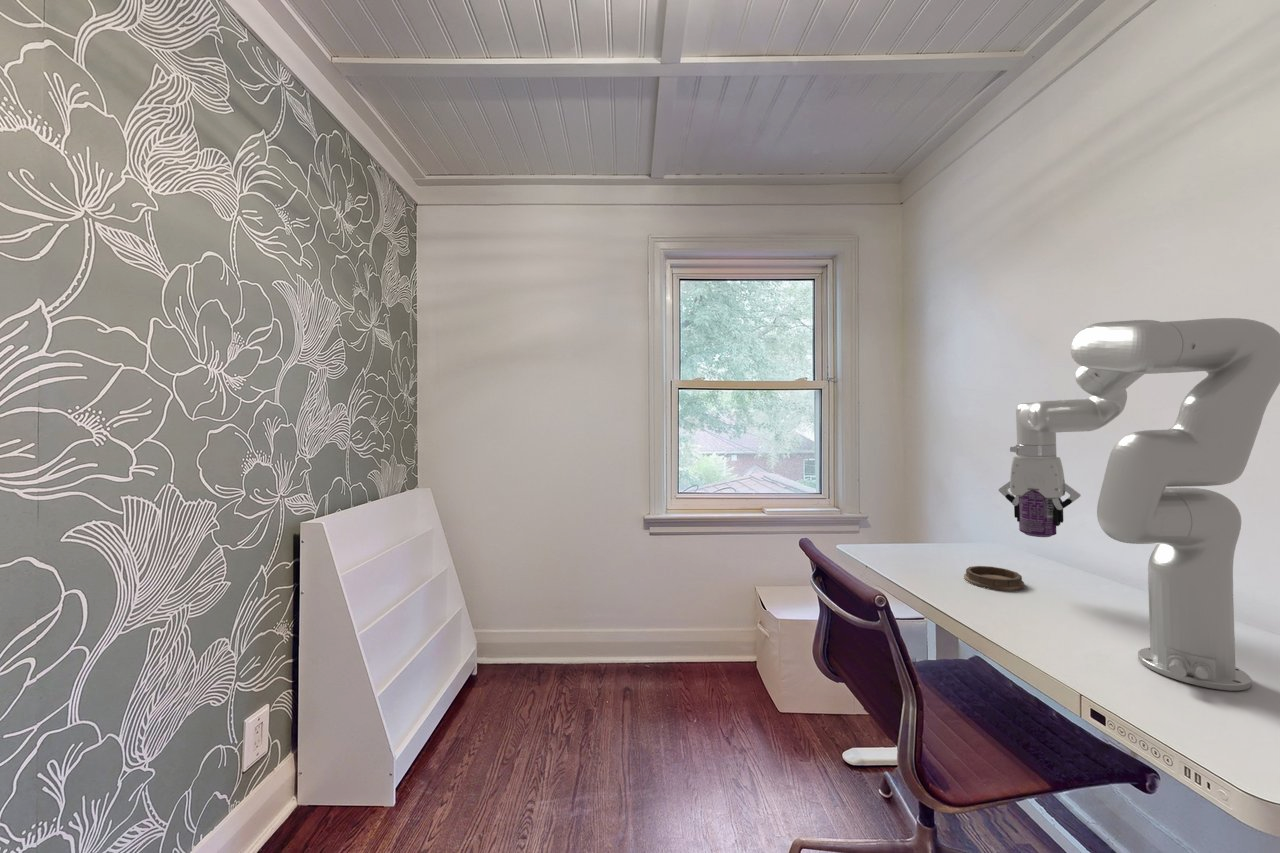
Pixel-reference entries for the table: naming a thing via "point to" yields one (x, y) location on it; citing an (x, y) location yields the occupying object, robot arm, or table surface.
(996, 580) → the walnut coaster
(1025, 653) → the table surface
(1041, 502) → the beverage can
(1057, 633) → the table surface
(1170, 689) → the table surface
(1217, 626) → the robot arm
